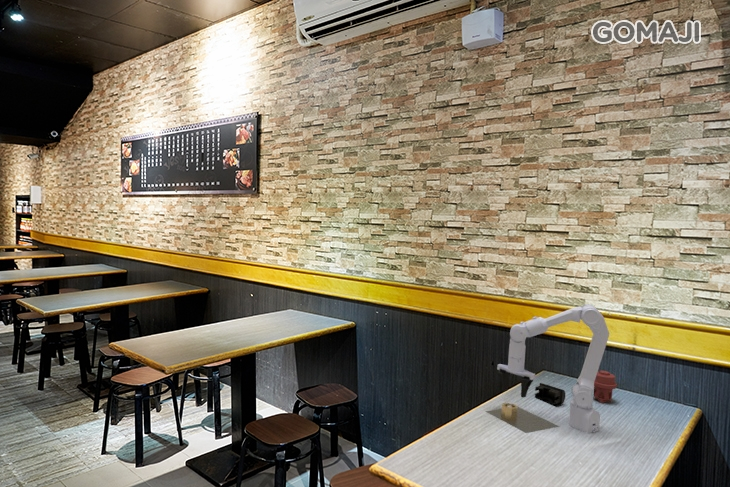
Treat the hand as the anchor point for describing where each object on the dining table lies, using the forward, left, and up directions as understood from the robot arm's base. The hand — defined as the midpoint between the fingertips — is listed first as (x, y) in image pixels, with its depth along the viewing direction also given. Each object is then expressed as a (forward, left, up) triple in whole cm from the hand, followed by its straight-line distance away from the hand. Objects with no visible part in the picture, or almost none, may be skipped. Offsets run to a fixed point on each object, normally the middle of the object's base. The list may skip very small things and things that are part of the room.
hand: (514, 393), depth 178 cm
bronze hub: (-2, +3, -8) cm, 8 cm away
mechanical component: (+1, -52, -9) cm, 53 cm away
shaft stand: (-5, +1, -9) cm, 10 cm away
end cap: (+7, -27, -9) cm, 30 cm away
